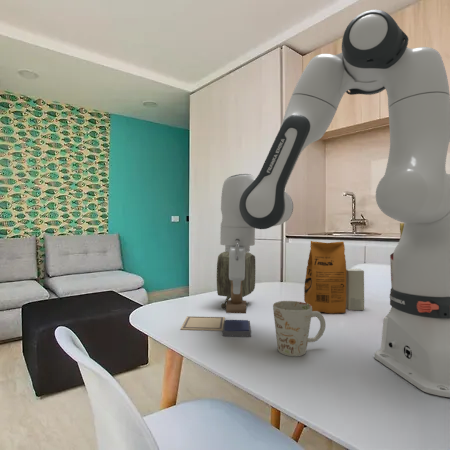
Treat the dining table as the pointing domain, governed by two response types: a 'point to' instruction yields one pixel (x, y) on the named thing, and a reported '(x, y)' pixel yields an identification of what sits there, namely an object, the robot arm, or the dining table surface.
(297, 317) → the mug
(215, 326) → the card
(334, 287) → the coffee package
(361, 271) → the box
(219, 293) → the tabletop clock
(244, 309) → the stamp
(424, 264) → the robot arm
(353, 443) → the dining table surface
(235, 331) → the ink pad
